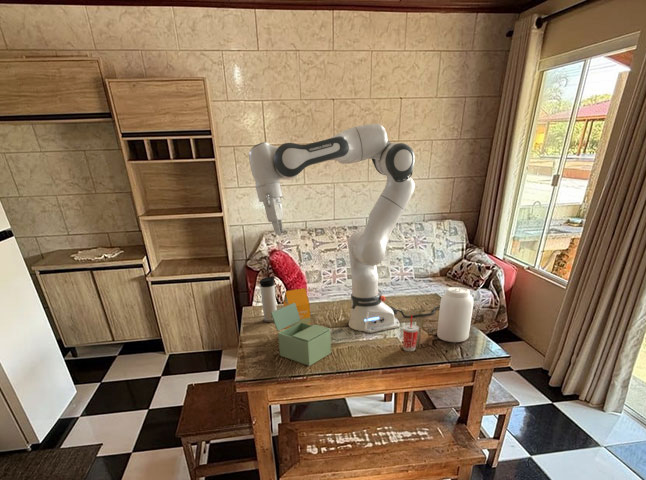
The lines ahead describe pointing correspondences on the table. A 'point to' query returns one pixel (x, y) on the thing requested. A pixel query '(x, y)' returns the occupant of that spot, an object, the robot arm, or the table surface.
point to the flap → (285, 316)
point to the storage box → (305, 343)
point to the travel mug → (268, 298)
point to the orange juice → (299, 304)
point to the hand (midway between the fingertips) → (279, 233)
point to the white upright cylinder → (455, 315)
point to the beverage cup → (410, 336)
